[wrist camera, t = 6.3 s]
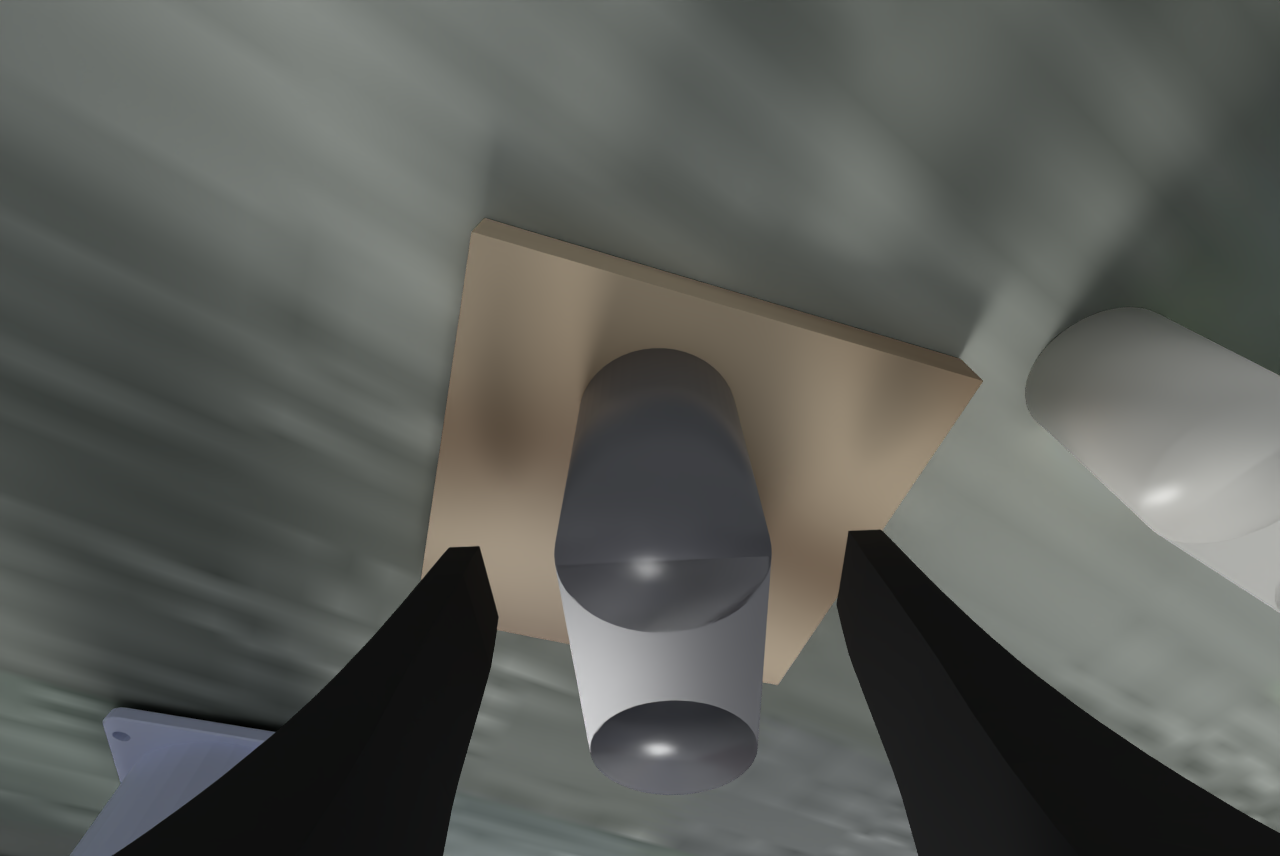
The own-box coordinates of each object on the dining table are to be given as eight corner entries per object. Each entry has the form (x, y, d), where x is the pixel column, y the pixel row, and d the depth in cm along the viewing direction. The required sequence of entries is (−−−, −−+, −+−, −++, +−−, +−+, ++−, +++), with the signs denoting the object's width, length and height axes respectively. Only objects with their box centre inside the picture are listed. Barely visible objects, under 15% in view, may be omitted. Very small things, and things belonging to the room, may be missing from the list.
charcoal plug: (570, 352, 12) (539, 478, 8) (737, 343, 11) (778, 467, 8) (615, 689, 17) (608, 848, 14) (729, 685, 17) (750, 844, 14)
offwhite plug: (995, 394, 13) (1101, 498, 10) (1116, 279, 12) (1282, 359, 9) (1231, 551, 16) (1375, 674, 12) (1355, 471, 14) (1550, 586, 11)
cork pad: (771, 654, 18) (777, 684, 17) (427, 584, 16) (415, 614, 15) (960, 358, 13) (982, 380, 12) (484, 217, 11) (471, 231, 10)
